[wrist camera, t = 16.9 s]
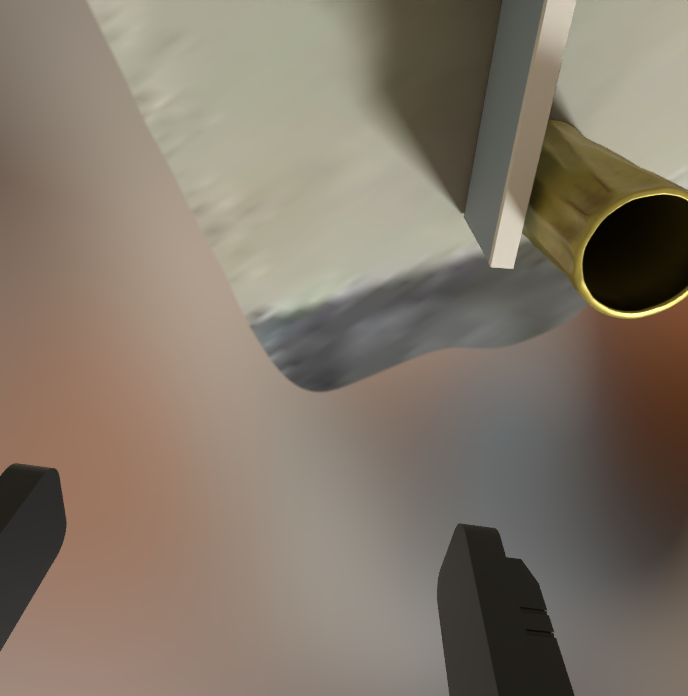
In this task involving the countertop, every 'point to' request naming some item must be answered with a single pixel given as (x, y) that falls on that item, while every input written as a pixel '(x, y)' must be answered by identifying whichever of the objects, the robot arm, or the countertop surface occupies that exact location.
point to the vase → (609, 225)
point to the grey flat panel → (515, 121)
